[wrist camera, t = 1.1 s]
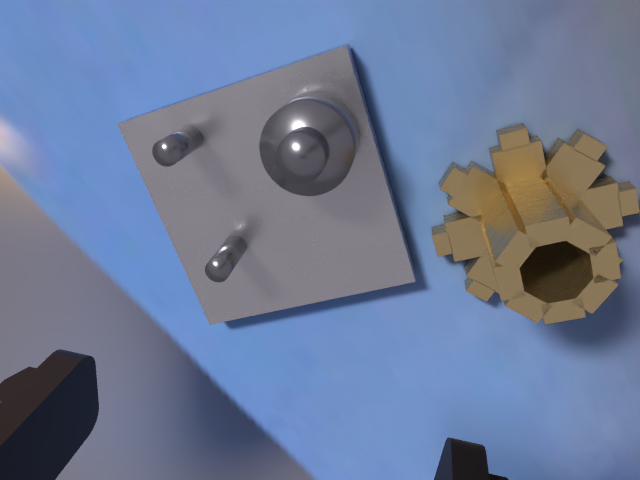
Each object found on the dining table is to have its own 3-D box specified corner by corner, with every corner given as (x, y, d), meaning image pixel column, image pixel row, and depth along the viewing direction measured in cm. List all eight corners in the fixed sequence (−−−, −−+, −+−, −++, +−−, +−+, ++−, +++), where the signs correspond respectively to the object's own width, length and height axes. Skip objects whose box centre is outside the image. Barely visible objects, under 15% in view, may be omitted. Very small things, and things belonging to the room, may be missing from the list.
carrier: (348, 44, 28) (333, 54, 23) (415, 272, 33) (415, 323, 28) (127, 119, 32) (71, 143, 27) (215, 315, 37) (182, 367, 32)
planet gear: (617, 97, 27) (678, 126, 21) (640, 277, 31) (697, 349, 25) (411, 153, 30) (410, 194, 24) (454, 313, 34) (463, 384, 28)
